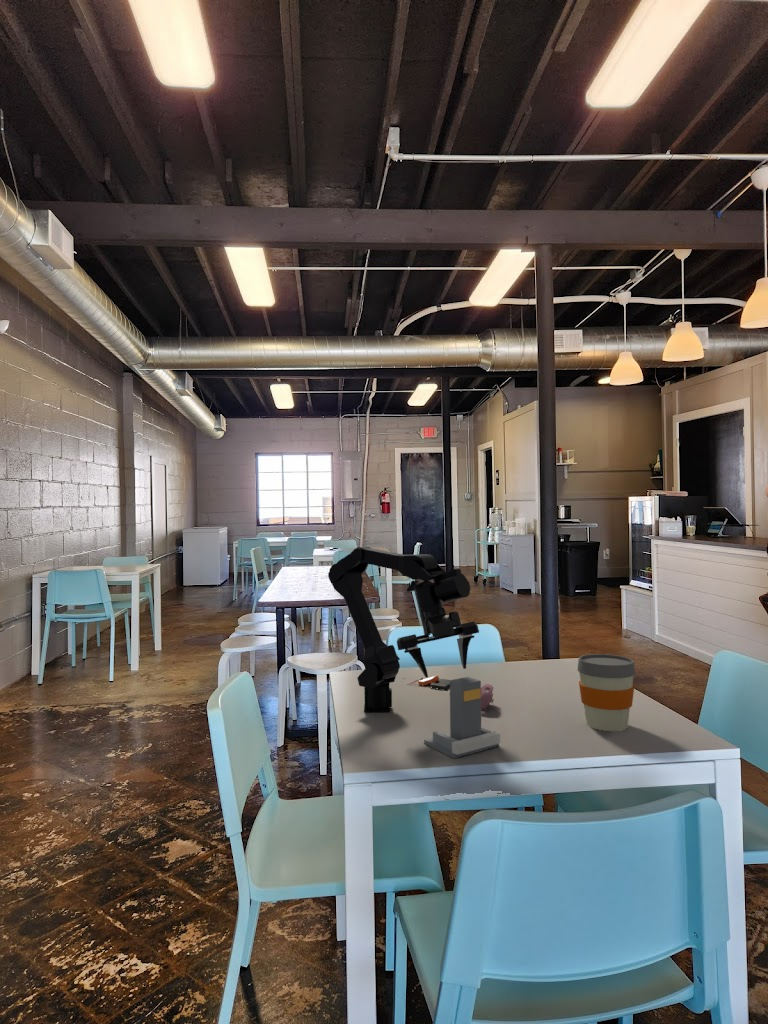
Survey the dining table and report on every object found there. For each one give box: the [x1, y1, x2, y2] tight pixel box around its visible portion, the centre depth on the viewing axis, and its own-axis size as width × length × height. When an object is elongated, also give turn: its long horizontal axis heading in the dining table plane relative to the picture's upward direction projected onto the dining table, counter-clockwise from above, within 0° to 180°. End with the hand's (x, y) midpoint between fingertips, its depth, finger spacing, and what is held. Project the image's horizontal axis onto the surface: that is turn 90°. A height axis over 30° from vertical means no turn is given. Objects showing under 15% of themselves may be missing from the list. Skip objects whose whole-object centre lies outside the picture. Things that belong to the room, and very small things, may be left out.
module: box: [449, 676, 482, 740], centre depth 130 cm, size 4×5×13 cm
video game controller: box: [481, 683, 495, 711], centre depth 158 cm, size 10×5×7 cm, turn 170°
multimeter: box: [410, 675, 451, 691], centre depth 180 cm, size 18×12×3 cm, turn 56°
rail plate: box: [423, 726, 501, 759], centre depth 131 cm, size 11×12×3 cm
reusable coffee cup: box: [577, 653, 636, 732], centre depth 143 cm, size 13×13×15 cm
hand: (445, 673), depth 144 cm, fingers open, 9 cm apart
